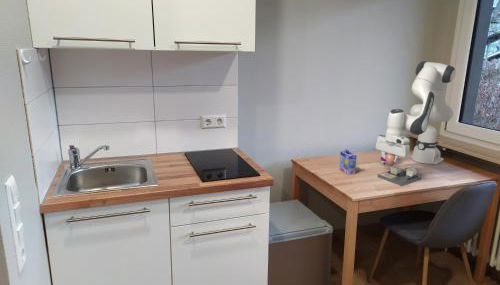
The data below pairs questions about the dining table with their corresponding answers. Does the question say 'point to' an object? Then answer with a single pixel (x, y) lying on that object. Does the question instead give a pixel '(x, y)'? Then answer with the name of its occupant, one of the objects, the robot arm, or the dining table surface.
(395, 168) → the toggle
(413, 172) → the toggle
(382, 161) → the supplement can
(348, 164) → the ink cartridge box
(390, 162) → the cap
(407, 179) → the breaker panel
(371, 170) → the dining table surface
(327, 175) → the dining table surface
